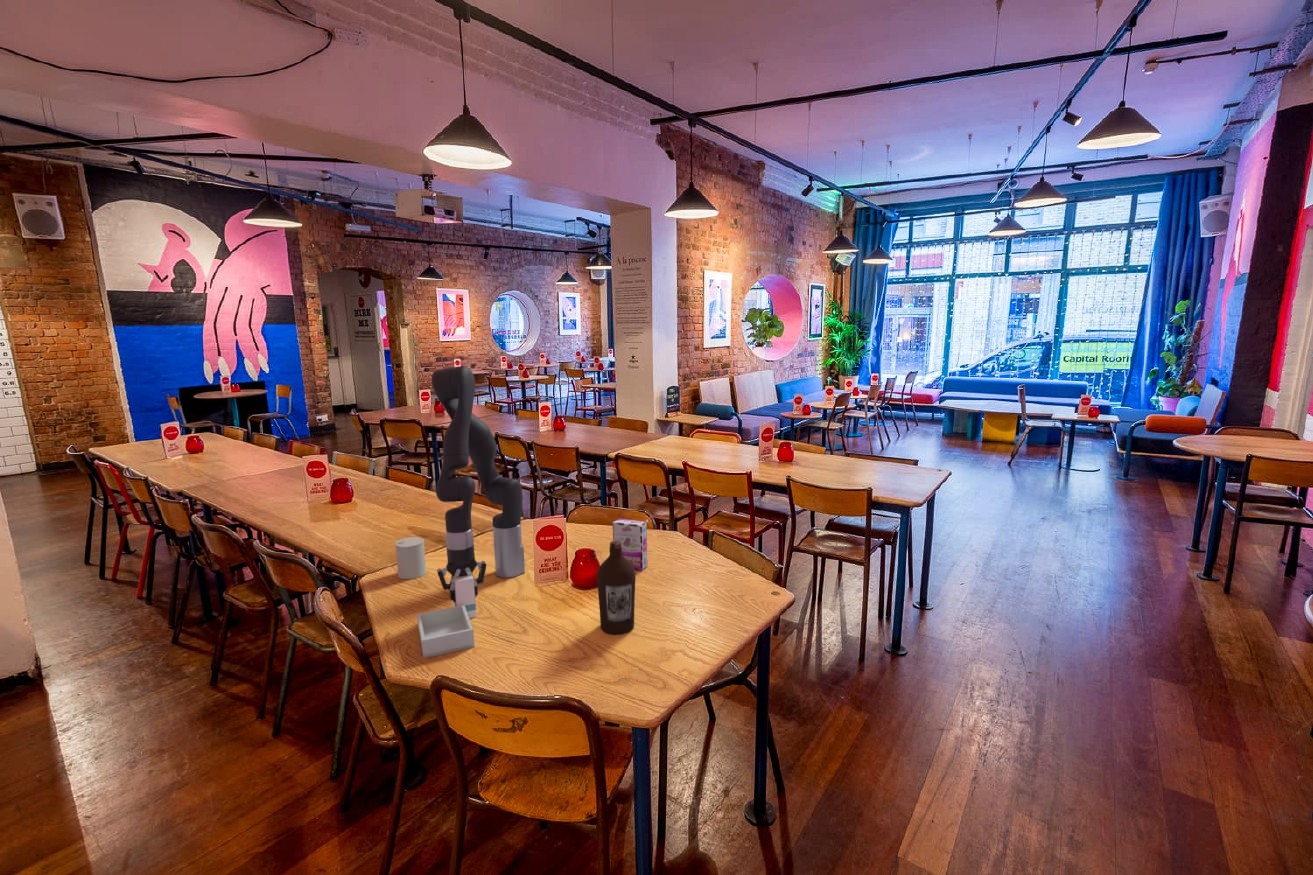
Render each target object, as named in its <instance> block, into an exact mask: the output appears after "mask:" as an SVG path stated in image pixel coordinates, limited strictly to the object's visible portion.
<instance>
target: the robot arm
mask: <svg viewBox="0 0 1313 875" xmlns="http://www.w3.org/2000/svg"><path fill="white" fill-rule="evenodd" d="M431 384H432V388H433V390H434V393H435V396H436V397H437V399H438V401H439V402H440V404H441V406H442V407H443V409H444V410H445V412H446V414H447V415H448V416H449V418H450V420H451V422H450V423H449V424H448V427H447V429H446V430H445V433H444V435H443V438H442V439H443V440H442V465H441V470H440V474H439V476H438V477H439V478H438V480H437V482H436V488H435V495H436V497H437V499H438V500H439V501H440V502H442V503H454V502H462V504H461V505H460V506H457V507H452V508H450V509H448V510H447V511H446V512H445V514H444V519H445V520H444V521H445V532H446V533H445V543H446V544H445V545H446V546H445V547H446V555H447V556H446V557H447V558H446V559H447V564H446V566H444V567H443V568H440V567H439V568H438V569H437V570H436V572H437V573H436V574H437V575H438V578H439V581H440V584H441V587H442V589H443V590H445V591H446V590H448V591H449V598H450V601H452V602H453V603H454V602H456V596H455V589H454V588H455V580H454V578H458V577H461V576H466V575H468V576H471V575H472V576H473V578H474V591H475V599H476V598H477V597H476V596H478V594H479V590H478V585H479V584H483V583H484V580H485V577H486V576H485V575H486V570H487V564H486V561H485V560H482V561H477V560H476V556H475V555H476V554H475V539H474V533H473V526H472V524H473V523H472V506H473V500H474V497H475V493H476V487H477V486H476V482H475V480H474V479H473V478H472V477H471V476H468V475H467V476H464V475H463V476H462V475H461V476H452V475H453V473H454V472H456V471H458V470H463V469H466V468H467V467H468V466H469V461H470V460H471V462H472V465H473V467H474V469H475V471H476V474H477V476H478V480H479V481H480V484H481V486H482V490H483V493H484V495H485V497H486V499H487V500H488V502H490V503H492V504H494V505H499V506H502V512H500V513H498V514H495V515H494V516H493V517H492V520H491V522H492V534H493V535H492V536H493V550H494V564H495V565H494V566H495V567H494V569H495V575H496V576H497V577H499V576H500V577H499V578H514V577H517V576H520V575H522V574H526V567H525V547H524V545H523V541H522V539H523V538H522V522H521V521H522V516H523V488H522V484H521V482H520V481H519V480H518V479H515V478H511V477H502V476H501V475H500V473H499V472H498V469H497V467H496V464H495V459H496V458H495V457H496V454H497V442H496V440H495V437H494V436H493V433H492V430H491V429H490V427H489V425H488V424H487V423H486V422H485V421H484V420H482V419H481V418H480V417H478V416H477V415H475V414H474V413H473V407H474V400H475V393H476V379H475V375H474V373H473V371H472V370H471V368H470V367H468V366H465V365H463V366H462V365H461V366H454V367H447V368H441V369H440V368H439V369H438V370H436V371H434V372H433V373H432V375H431ZM476 567H477V568H478V575H477V576H478V577H477V578H475V576H474V574H473V572H474V571H475V569H476ZM447 572H448V573H449V574H450V575H451V577H450V580H449V581H450V582H449V583H447V582H446V578H445V576H447Z"/></svg>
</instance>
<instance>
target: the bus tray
mask: <svg viewBox="0 0 1313 875" xmlns="http://www.w3.org/2000/svg"><path fill="white" fill-rule="evenodd" d="M416 617H417V628H418V634H419V641H420V646H421V651H422V657H423V660H424V659H429V658H432V657H436V656H441V655H445V654H450V653H454V652H458V651H463V650H467V649H473V648H475V638H474V637H475V636H474V635H475V634H474V628H473V625H472V622H471V620H470V619H471V618H469V616H468V614H467V611H466V608H465V605H460V606H451V607H447V608H442V609H441V608H440V609H436V610H431V611H427V612H426V611H425V612H420V613H417V614H416Z"/></svg>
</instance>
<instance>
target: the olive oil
mask: <svg viewBox="0 0 1313 875" xmlns="http://www.w3.org/2000/svg"><path fill="white" fill-rule="evenodd" d="M596 574H597V575H596V583H597V591H598V592H597V593H598V607H599V619H600V620H599V621H600V622H599V623H600V624H599V625H600V630H601V631H602V632H603V633H605V634H607V635H611V636H622V635H626V634H629V633H630V632H632V631H633V630H634V628H635V600H636V580H637V579H636V578H637V577H636V570H634V568H633V566H632V564H631V563H630V562H629V561H628V560H627V559H626V558H625V557H623V555H622V546H621V542H620V541H613V540H612V541H610V542H609V555H608V557H606V558H605V560H604V561H603V562H602V563H601V564H600V566H599V567H598V569H597V573H596Z"/></svg>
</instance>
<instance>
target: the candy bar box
mask: <svg viewBox="0 0 1313 875" xmlns="http://www.w3.org/2000/svg"><path fill="white" fill-rule="evenodd" d="M647 524H648V523H647V521H643V520H634V519H626V518H617V519H616V520H615V521H612V541H620V542H621V546H622V555H623V557H625V558H626V559H627V560H628V561H629V562H630V563H631V564H632V566H633V568H634V570H635V571H641V572H643V571H644V570H645V569H646V568H647V567H648V565H649V564H648V525H647Z"/></svg>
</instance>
